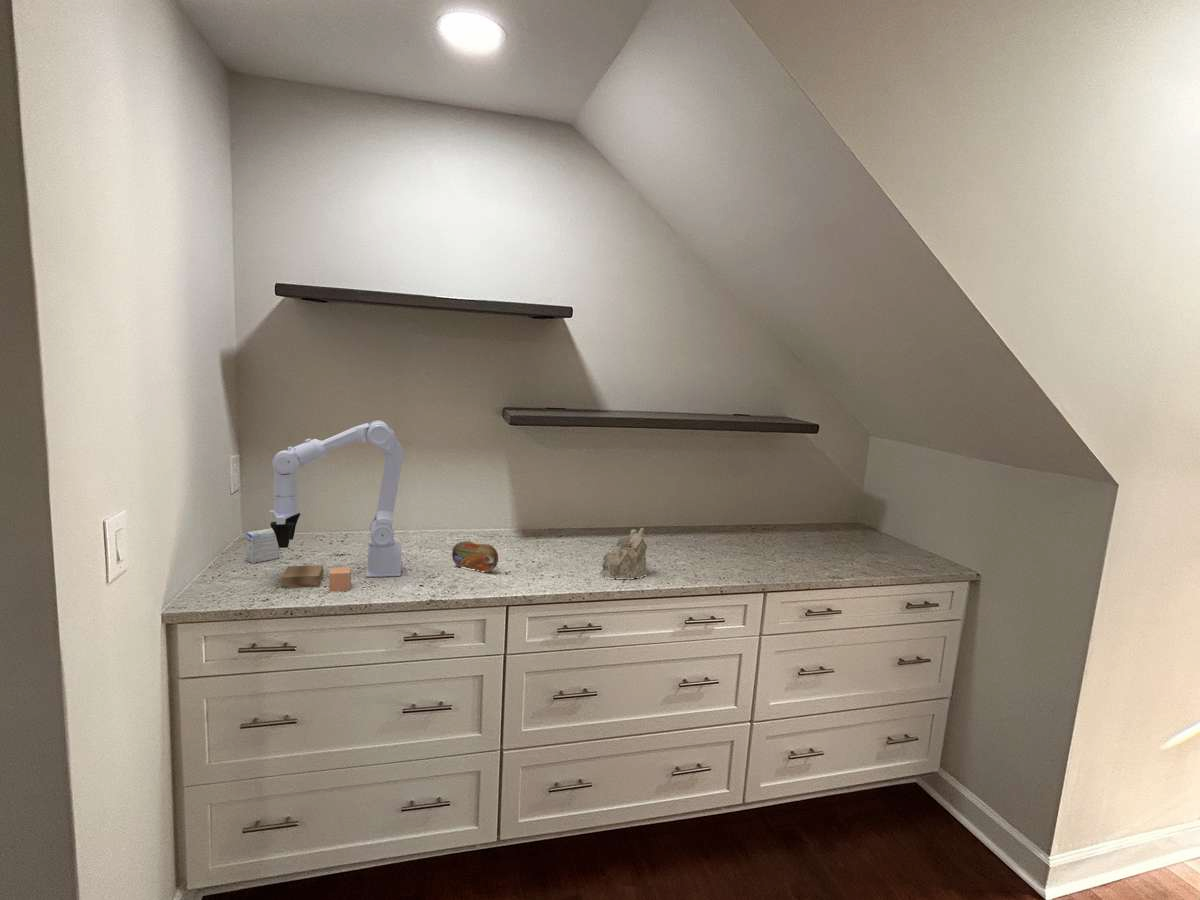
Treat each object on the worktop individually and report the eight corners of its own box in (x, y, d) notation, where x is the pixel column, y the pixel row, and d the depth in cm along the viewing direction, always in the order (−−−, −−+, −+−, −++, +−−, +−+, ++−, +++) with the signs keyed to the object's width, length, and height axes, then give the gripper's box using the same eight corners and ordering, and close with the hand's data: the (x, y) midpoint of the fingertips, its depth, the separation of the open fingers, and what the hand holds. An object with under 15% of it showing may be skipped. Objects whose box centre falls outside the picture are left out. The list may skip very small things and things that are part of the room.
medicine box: (273, 555, 193) (273, 527, 192) (280, 558, 190) (279, 530, 189) (245, 560, 187) (245, 532, 186) (252, 564, 184) (252, 535, 183)
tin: (451, 566, 193) (451, 540, 192) (457, 563, 196) (457, 537, 195) (493, 575, 187) (494, 547, 186) (499, 572, 190) (500, 545, 189)
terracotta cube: (351, 584, 173) (351, 566, 173) (349, 590, 169) (349, 572, 168) (331, 585, 172) (331, 567, 171) (329, 591, 167) (329, 573, 166)
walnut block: (323, 575, 179) (323, 565, 178) (318, 586, 170) (318, 575, 170) (288, 576, 176) (288, 566, 176) (282, 588, 167) (282, 577, 167)
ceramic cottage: (635, 561, 208) (636, 518, 206) (654, 580, 193) (656, 533, 190) (590, 566, 204) (591, 521, 201) (606, 586, 188) (607, 538, 186)
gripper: (274, 489, 177) (275, 536, 179) (263, 501, 163) (264, 551, 165) (302, 489, 179) (302, 535, 181) (293, 500, 165) (293, 550, 167)
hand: (286, 543), depth 173 cm, fingers open, 7 cm apart
